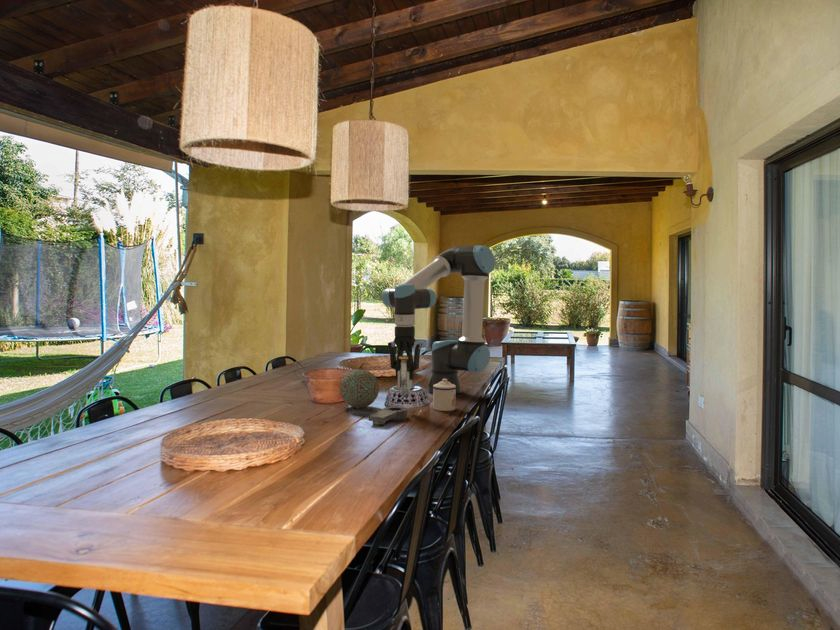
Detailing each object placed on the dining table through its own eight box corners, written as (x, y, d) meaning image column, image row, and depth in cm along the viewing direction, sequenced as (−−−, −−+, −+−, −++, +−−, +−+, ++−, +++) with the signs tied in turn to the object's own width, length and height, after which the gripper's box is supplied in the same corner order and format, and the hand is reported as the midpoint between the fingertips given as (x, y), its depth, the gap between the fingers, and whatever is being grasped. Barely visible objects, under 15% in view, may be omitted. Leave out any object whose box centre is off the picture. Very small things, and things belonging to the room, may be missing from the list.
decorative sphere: (333, 410, 224) (333, 370, 223) (348, 402, 238) (349, 365, 238) (370, 413, 220) (371, 372, 219) (384, 405, 234) (384, 367, 234)
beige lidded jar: (457, 411, 225) (458, 381, 224) (433, 411, 224) (434, 380, 224) (453, 405, 237) (453, 376, 236) (430, 405, 236) (431, 375, 236)
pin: (401, 391, 227) (401, 354, 226) (413, 392, 225) (413, 355, 224) (396, 393, 222) (396, 356, 221) (407, 395, 220) (407, 357, 219)
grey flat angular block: (362, 410, 223) (362, 402, 223) (410, 416, 215) (410, 408, 215) (335, 420, 207) (335, 411, 207) (386, 427, 198) (387, 418, 198)
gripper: (380, 325, 222) (381, 387, 224) (420, 327, 215) (420, 391, 217) (390, 324, 229) (390, 384, 230) (428, 325, 222) (428, 387, 224)
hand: (404, 387), depth 224 cm, fingers closed on pin, 3 cm apart
